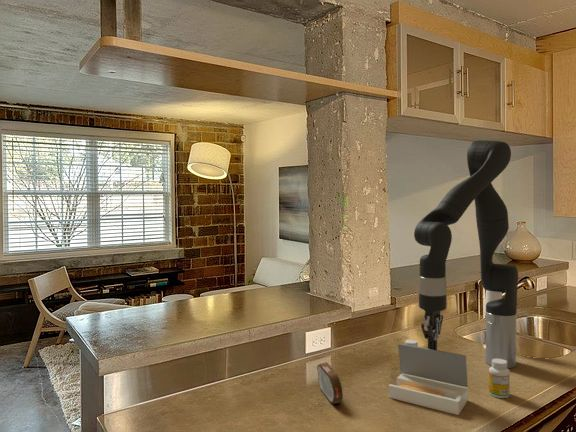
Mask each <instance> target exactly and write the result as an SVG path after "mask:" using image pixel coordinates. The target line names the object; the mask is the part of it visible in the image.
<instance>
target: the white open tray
mask: <svg viewBox="0 0 576 432" xmlns="http://www.w3.org/2000/svg"><path fill="white" fill-rule="evenodd" d="M400 385H406V386H411V387H416V388H421V389H426V390H430V391H435V392H440V393H442V394H443V395H444V397H443V396H438V395H434V394H430V393H426V392H422V391H417V390H413V389H409V388H405V387H401V386H400ZM388 398H390V399H393V400H398V401H401V402H406V403H410V404H414V405H417V406H422V407H424V408H428V409H433V410H438V411H440V412H441V411H442V412H443V413H444V412H445V413H447V414H453V415H456V416H459V415H460V413H461V412H462V410H463V408H464V407H465V405H466V404H467V402H469V387H463V386H458V385H454V384H449V383H445V382H440V381H436V380H431V379H427V378H422V377H418V376H413V375H408V374H404V373H401V374H399V375H398V376H397V377H396V385H395V384H391V383H390V384H388Z"/></svg>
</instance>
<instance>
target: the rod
mask: <svg viewBox="0 0 576 432" xmlns="http://www.w3.org/2000/svg"><path fill="white" fill-rule="evenodd" d="M400 386H401V387H405V388H409V389H413V390H417V391H422V392H426V393H430V394H434V395H438V396H443V397H444V395H443V394H442V393H440V392H435V391H430V390H426V389H421V388H416V387H411V386H406V385H400Z"/></svg>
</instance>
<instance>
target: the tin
mask: <svg viewBox="0 0 576 432" xmlns="http://www.w3.org/2000/svg"><path fill="white" fill-rule="evenodd" d="M316 369H317V382H318V385H319V388H320V391H321V390H322V391H321V392H322V393H323V394H324V396H325V397H326V399H327V400H328V402H329V401H330V402H329V403H330V404H332V405H333V404H339V403H342V402H343V398H344V397H343V393H344V392H343V387H342V383H341V379H340V377H339V374H338V373H337V372H336V371H335V370H334V368H333V367H332V366H331V365H330V364H329V362H327V361H326V362H323V363H320V364H319V363H318V364H317V367H316Z"/></svg>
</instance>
